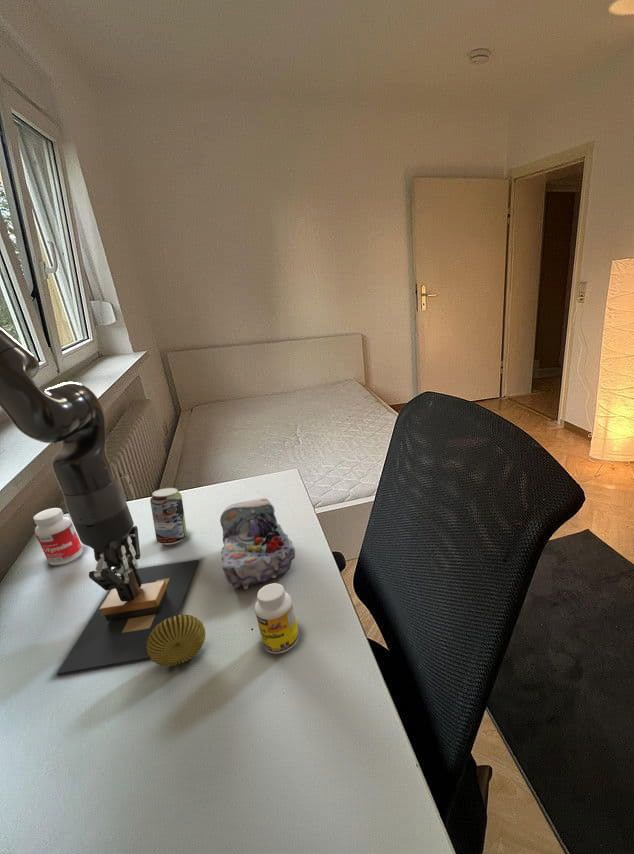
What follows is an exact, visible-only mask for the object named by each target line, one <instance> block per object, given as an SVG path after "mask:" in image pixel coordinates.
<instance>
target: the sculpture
mask: <svg viewBox="0 0 634 854" xmlns="http://www.w3.org/2000/svg"><path fill="white" fill-rule="evenodd" d="M206 635H207V634H206V628H205V626H204V624H203V622H202V621H201V620H200V619H199V618H197V617H195V616H194V615H190V614H178V615H177V619H176V616H173V620H172V618H171V617H169V618H168V619H165V620H164V621H162V622H160V623H159V624H158V625H157V626H156V627H155V628H154V629H153V630H152V632H151V633H150V636H149V637H148V641H147V653H148V655H149V657H150V659H149V660H151V661H152V662H154V663H155V664H157V665H160V666H164V667H172V666H177V665H181V663H182V664H185V662H188V661H190V660H191V659H192V658H194V657H195V656H196V655H197V654H198V653H199V652H200V651H201V649H202V647H203V645H204V644H205V640H206Z"/></svg>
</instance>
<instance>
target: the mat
mask: <svg viewBox="0 0 634 854" xmlns="http://www.w3.org/2000/svg"><path fill="white" fill-rule="evenodd" d="M199 564H200V559H193V560H187V561H186V560H185V561H179V562H174V563H173V562H172V563H167V564H160V565H153V566H147V567H141V568H139V567H138V568H136V569H137V571H138V574H139V576H140V579H141V582H142V584H147V583H153V582H159V581H165V583H166V586H167V588H166V591H167V597H166V599H165V601H164V604H163V606H162V608H161V610H160V612H158V613H152V614H146V615H141V616H135V617H129V618H123V619H117V620H111V621H107V620H106V618H105V616H104V615H103V616H102V614H101V612H100V607H101V606H102V604H103V602H104V601H105V599H106V598H107V596H108V594H109V593H110V591H111V590H107V593H106V594H105V596H104V598H103V599H102V600H101V602H100V604H99V605H98V607H97V608H96V610H95V612H94V614H93V615H92V616H91V618H90V620H89V621H88V623H87V625H86V626H85V628H84V630H83V631H82V633H81V634H80V635H79V637H78V639H77V641H76V642H75V644H74V645H73V646H72V649H71V650H70V652H69V653H68V655H67V656H66V658H65V659H64V661H63V662H62V664H61V666H60V667H59V669H58V671H57V672H56V676H63V675H68V674H74V673H80V672H86V671H91V670H97V669H102V668H103V669H104V668H109V667H114V666H119V665H124V664H125V665H126V664H130V663H136V662H142V661H147V660H151V659H150V657H149V655H148V653H147V641H148V637H149V636H150V633H151V632H152V630H153V629H154V628H155V627H156V626H157V625H158V624H159V623H160V622H162V621H164V620H165V619H168V618H169V617H171V618H172V620H173V616H176V619H177V615H180V612H181V609H182V607H183V604H184V601H185V599H186V596H187V594H188V592H189V590H190V586H191V584H192V581H193V579H194V576H195V573H196V571H197V569H198V566H199Z"/></svg>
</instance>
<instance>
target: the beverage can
mask: <svg viewBox="0 0 634 854" xmlns="http://www.w3.org/2000/svg"><path fill="white" fill-rule="evenodd" d="M149 502H150V508H151V514H152V522H153V526H154V527H153V528H154V534H155V539H156V542H157V543H159V544H162V545H167V546H168V545H169V546H170V545H175V544H178V543H180V542H181V541H183V540H184V539H185V538H186V537H187V535H188V532H187V525H186V524H187V523H186V518H185V517H186V516H185V510H184V509H185V508H184V504H183V496H182V494H181V492H179V490H178V488H176V487H164V488H160V489H159V488H158V489H155V490H154V491H153V492H152V493H151V497H150V499H149Z"/></svg>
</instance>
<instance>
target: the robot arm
mask: <svg viewBox="0 0 634 854" xmlns="http://www.w3.org/2000/svg"><path fill="white" fill-rule="evenodd" d="M39 371H40V362H39V361H38V359H37V358H36V356H34V355H33V354H32V353H31V352H30V351H29V350H27V349H26V348H25V347H24V346H23V345H22V344H20V343H19V342H18V341H17V340H16V339H15V338H13V336H11V335H10V334H9V333H8V332H6V331H5V330H4V329H3V328H1V327H0V408H1V410H2V411H3V412H4V414H5V415H6V416H7V418H8V420H10V422H11V423H12V424H13V425H14V426H15V428H16V429H17V430H19V431H20V433H22V434H24V436H27V437H28V438H30V439H32V440H35V441H38V442H41V443H45V444H56V443H59V442H61V446H60V448H59V450H58V451H57V452H56V453H55V454H54V456H53V457H52V459H51V463H50V465H51V469H52V472H53V474H54V477H55V479H56V482H57V484H58V486H59V489H60V491H61V494H62V497H63V501H64V505H65V508H66V510H67V513H68V515H69V518H70V520H71V522H72V525H73V527H74V529H75V532H76V534H77V536H78V539H79V541H80V543H81V544H82V545H84V546H87V547H89V548H91V549H93V556H94V560H95V561H96V562H97V563H96V567H95V569H91V570H90V571H89V572H88V577H89V579H90V580H92V581H93V582H94V583H95V584H96V585H98V586H99V587H100V588H102V589H103V590H104V591H109V590H111V589H116V590H117V593H118V595H119V598H120V600H121V601H123V602H124V601H130V600H134V598H135V596H136V594H135V592H134V589H133V586H132V584H131V581H130V580H129V577H128V573H127V569H128V568H129V567H131V568H132V569H133V572H134V575H135V577H136V580H137V582H138V585H139V588H140V587H141V585H142V582H141V579H140V576H139V574H138V571H137V569H138V568H139V563H138V561H137V560H140V559H141V549H140V548H141V547H140V538H139V537H140V536H139V528H138V526H137V525H135V524H134V523H135V522H134V520H133V517H132V514H131V512H130V509H129V506H128V503H127V500H126V498H125V494H124V492H123V489H122V487H121V486H120V484H119V482H118V480H117V478H116V476H115V473H114V470H113V467H112V465H111V462H110V459H109V457H108V454H107V435H106V434H107V433H106V422H105V421H106V419H105V414H104V410H103V409H104V408H103V407H102V403H101V402H100V399H99V398H98V397H97V395H96V394H95V393H94V392H93V391H92V389H90V388H88V387H87V386H85V385H84V384H82V383H79V382H73V381H68V382H61V383H60V384H59V383H58V384H57V385H54V386H52V387H48V388H47V389H41V388H40V387H39V386H38V384H37V383H36V382H35V380H34V378H35V377H36V376H37V374H38V373H39ZM117 573H119V574H121V577H118V576H117V575H116V574H117Z"/></svg>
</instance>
